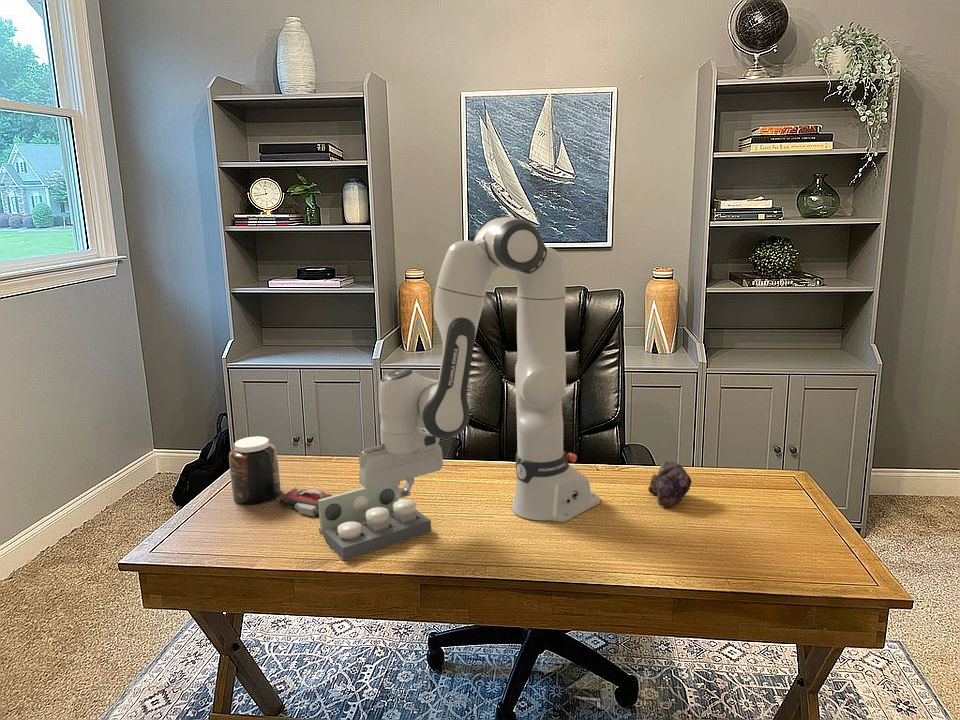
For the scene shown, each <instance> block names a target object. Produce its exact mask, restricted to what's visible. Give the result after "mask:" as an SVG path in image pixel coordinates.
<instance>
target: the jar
mask: <svg viewBox="0 0 960 720" xmlns="http://www.w3.org/2000/svg"><path fill="white" fill-rule="evenodd" d="M276 448H277V447H276V445H274V444H273V443H270V439H269V438H268V437H265V436H257V435H255V436H247V437H244V438H241V439H238V440H236V441H235V442H234V447H233V448H232V449H231V450H230V451H229V453H228V461H229V463H228V464H229V473H230V483H231V490H232V498H233V501H234V502H235V503H237V504H240V505H249V506H250V505H251V506H253V505H260V504H264V503H265V504H266V503H268V502H271V501H273V500H275V499H277V498H278V497H279V496H280V495H281V491H282V489H281V478H280V470H279V460H278V452H277V449H276Z"/></svg>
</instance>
